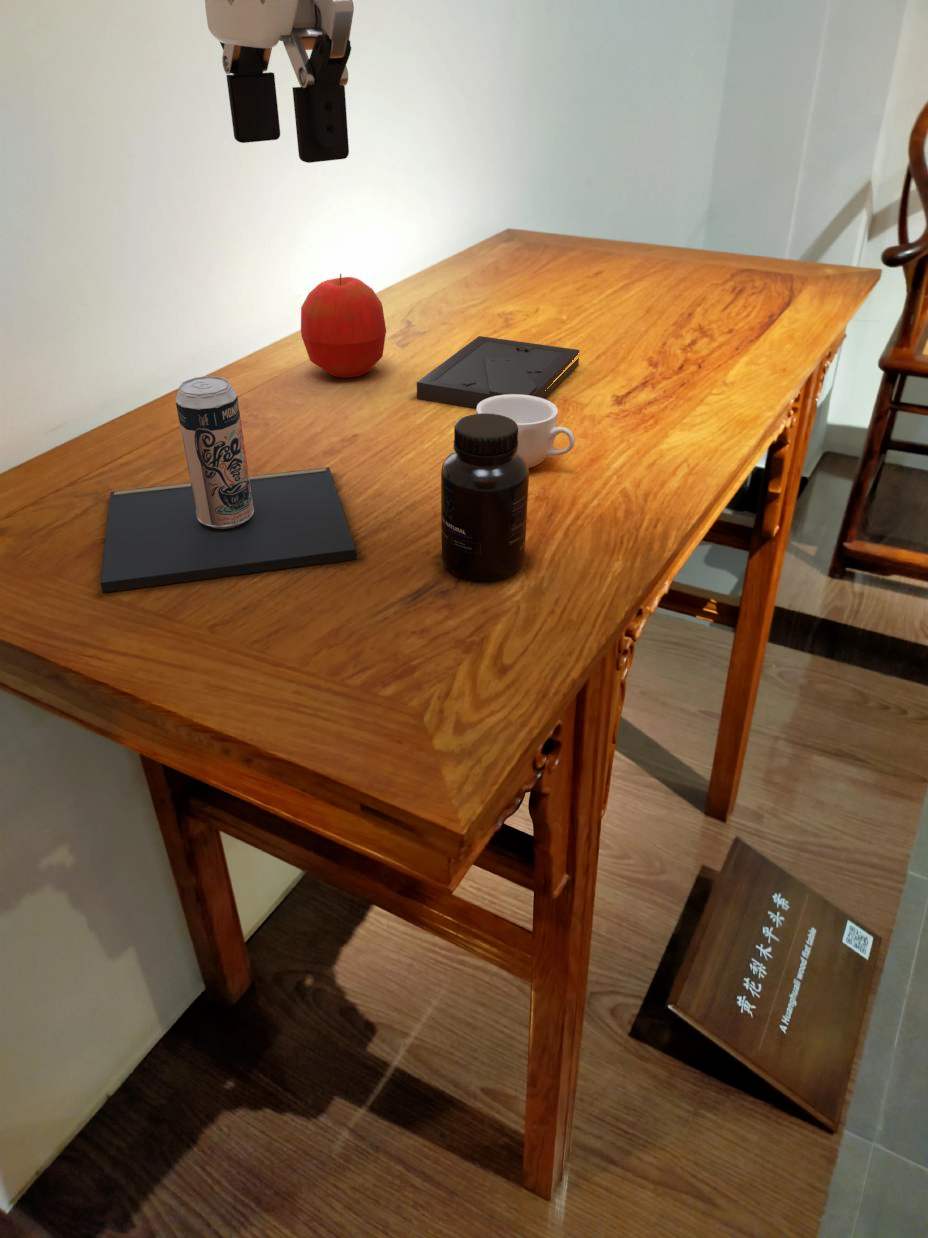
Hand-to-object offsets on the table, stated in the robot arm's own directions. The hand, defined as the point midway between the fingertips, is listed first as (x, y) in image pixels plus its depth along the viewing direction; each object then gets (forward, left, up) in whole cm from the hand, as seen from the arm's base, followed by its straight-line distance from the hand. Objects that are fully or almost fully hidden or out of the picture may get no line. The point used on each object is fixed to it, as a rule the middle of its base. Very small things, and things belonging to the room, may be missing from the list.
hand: (289, 149), depth 61 cm
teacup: (+21, +12, -31) cm, 39 cm away
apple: (+8, +42, -31) cm, 53 cm away
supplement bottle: (+12, -5, -31) cm, 33 cm away
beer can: (-8, +6, -30) cm, 31 cm away
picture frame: (+25, +34, -31) cm, 52 cm away
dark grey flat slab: (-8, +6, -30) cm, 32 cm away
